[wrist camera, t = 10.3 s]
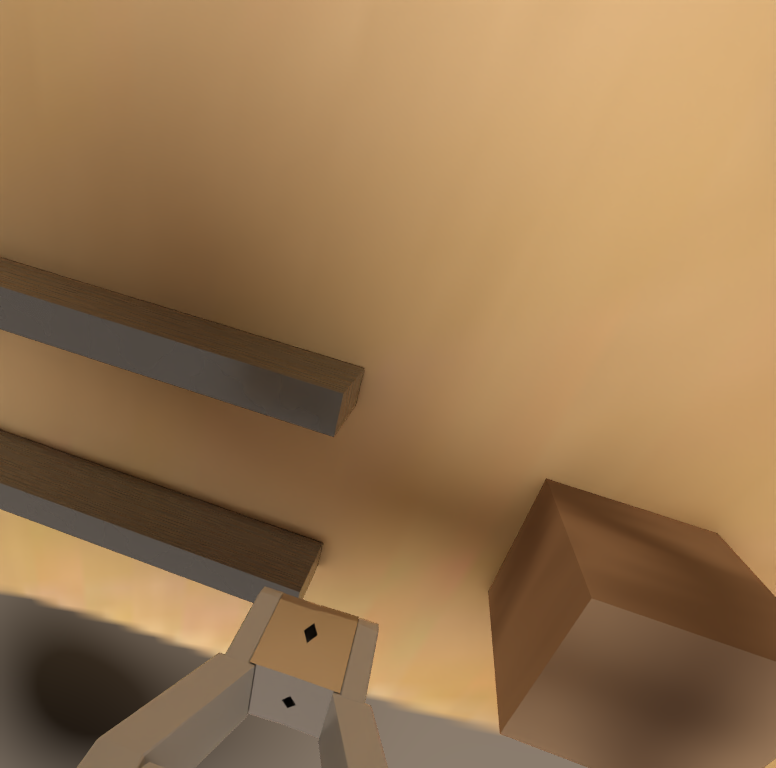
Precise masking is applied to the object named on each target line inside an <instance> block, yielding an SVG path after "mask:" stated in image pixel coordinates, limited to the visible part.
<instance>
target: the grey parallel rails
mask: <svg viewBox="0 0 776 768" xmlns="http://www.w3.org/2000/svg"><path fill="white" fill-rule="evenodd" d="M0 329H1V330H5V331H8V332H11V333H14V334H17V335H20V336H23V337H26V338H29V339H32V340H35V341H39V342H42V343H45V344H48V345H51V346H54V347H57V348H60V349H63V350H66V351H69V352H73V353H76V354H79V355H82V356H85V357H88V358H91V359H94V360H97V361H100V362H103V363H107V364H110V365H113V366H116V367H119V368H122V369H125V370H128V371H131V372H134V373H137V374H141V375H144V376H147V377H150V378H153V379H156V380H159V381H162V382H165V383H168V384H172V385H175V386H178V387H181V388H184V389H187V390H190V391H193V392H196V393H199V394H202V395H206V396H209V397H212V398H215V399H218V400H221V401H224V402H227V403H230V404H233V405H236V406H240V407H243V408H246V409H249V410H252V411H255V412H258V413H261V414H264V415H267V416H270V417H274V418H277V419H280V420H283V421H286V422H289V423H292V424H295V425H298V426H301V427H304V428H308V429H311V430H314V431H317V432H320V433H323V434H326V435H329V436H332V437H334V436H335V435H336V433H337V432H338V430H339V429H340V427H341V426H342V424H343V423H344V421H345V420H346V419H347V417H348V416H349V414H350V413H351V411H352V410H353V408H354V407H355V405H356V402H357V397H358V393H359V389H360V385H361V381H362V376H363V372H364V368H362V367H359V366H356V365H352V364H349V363H346V362H343V361H339V360H336V359H333V358H329V357H326V356H323V355H320V354H316V353H313V352H310V351H306V350H303V349H300V348H297V347H293V346H290V345H287V344H283V343H280V342H277V341H274V340H270V339H267V338H264V337H260V336H257V335H254V334H251V333H247V332H244V331H241V330H237V329H234V328H231V327H228V326H224V325H221V324H218V323H214V322H211V321H208V320H205V319H201V318H198V317H195V316H191V315H188V314H185V313H182V312H178V311H175V310H172V309H168V308H165V307H162V306H159V305H155V304H152V303H149V302H145V301H142V300H139V299H135V298H132V297H129V296H126V295H122V294H119V293H116V292H112V291H109V290H106V289H103V288H99V287H96V286H93V285H89V284H86V283H83V282H80V281H76V280H73V279H70V278H66V277H63V276H60V275H57V274H53V273H50V272H47V271H43V270H40V269H37V268H34V267H30V266H27V265H24V264H20V263H17V262H14V261H11V260H7V259H4V258H1V257H0ZM0 509H2V510H5V511H7V512H10V513H13V514H15V515H18V516H21V517H23V518H26V519H29V520H31V521H34V522H37V523H40V524H42V525H45V526H48V527H50V528H53V529H56V530H58V531H61V532H64V533H66V534H69V535H72V536H74V537H77V538H80V539H83V540H85V541H88V542H91V543H93V544H96V545H99V546H101V547H104V548H107V549H109V550H112V551H115V552H118V553H120V554H123V555H126V556H128V557H131V558H134V559H136V560H139V561H142V562H144V563H147V564H150V565H153V566H155V567H158V568H161V569H163V570H166V571H169V572H171V573H174V574H177V575H179V576H182V577H185V578H187V579H190V580H193V581H196V582H198V583H201V584H204V585H206V586H209V587H212V588H214V589H217V590H220V591H222V592H225V593H228V594H231V595H233V596H236V597H239V598H241V599H244V600H247V601H249V602H252V603H254V602H255V600H256V598H257V596H258V594H259V593H260V591H261V590H262V589H263V588H264V587H268V588H271V589H274V590H278V591H281V592H284V593H285V594H288V595H291V596H294V597H297V598H300V599H303V597H304V595H305V593H306V591H307V588H308V586H309V584H310V582H311V580H312V577H313V575H314V573H315V571H316V569H317V566H318V562H319V557H320V553H321V549H322V545H323V543H321V542H318V541H315V540H312V539H309V538H307V537H304V536H301V535H298V534H295V533H292V532H289V531H287V530H284V529H281V528H278V527H275V526H272V525H269V524H267V523H264V522H261V521H258V520H255V519H252V518H249V517H247V516H244V515H241V514H238V513H235V512H232V511H230V510H227V509H224V508H221V507H218V506H215V505H212V504H210V503H207V502H204V501H201V500H198V499H195V498H192V497H190V496H187V495H184V494H181V493H178V492H175V491H172V490H170V489H167V488H164V487H161V486H158V485H155V484H152V483H150V482H147V481H144V480H141V479H138V478H135V477H133V476H130V475H127V474H124V473H121V472H118V471H115V470H113V469H110V468H107V467H104V466H101V465H98V464H95V463H93V462H90V461H87V460H84V459H81V458H78V457H75V456H73V455H70V454H67V453H64V452H61V451H58V450H56V449H53V448H50V447H47V446H44V445H41V444H38V443H36V442H33V441H30V440H27V439H24V438H21V437H18V436H16V435H13V434H10V433H7V432H4V431H1V430H0Z"/></svg>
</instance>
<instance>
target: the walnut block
mask: <svg viewBox="0 0 776 768" xmlns="http://www.w3.org/2000/svg"><path fill="white" fill-rule="evenodd" d="M488 595H489V607H490V619H491V631H492V643H493V655H494V667H495V680H496V692H497V704H498V716H499V728H500V734H502V735H504V736H507V737H510V738H512V739H515V740H518V741H520V742H523V743H525V744H528V745H531V746H533V747H536V748H538V749H541V750H544V751H546V752H549V753H551V754H554V755H557V756H560V757H562V758H565V759H567V760H570V761H572V762H575V763H578V764H580V765H583V766H586V767H588V768H764V767H765V766H767V765H768V764H769V763H771V762H772V761H773V760H774V759H776V597H775V596H774V595H773V594H772V593H771V591H770V590H769V589H768V588H767V587H766V586H765V585H764V584H763V583H762V582H761V580H760V579H759V578H758V577H757V576H756V575H755V574H754V573H753V572H752V571H751V570H750V568H749V567H748V566H747V565H746V564H745V563H744V562H743V561H742V560H741V559H740V557H739V556H738V555H737V554H736V553H735V552H734V551H733V550H732V549H731V548H730V547H729V545H728V544H727V543H726V542H725V541H724V540H723V539H722V538H721V537H720V536H719V535H718V533H714V532H711V531H708V530H705V529H702V528H699V527H696V526H693V525H690V524H686V523H683V522H680V521H677V520H674V519H671V518H668V517H665V516H661V515H658V514H655V513H652V512H649V511H646V510H643V509H640V508H636V507H633V506H630V505H627V504H624V503H621V502H618V501H615V500H611V499H608V498H605V497H602V496H599V495H596V494H593V493H590V492H586V491H583V490H580V489H577V488H574V487H571V486H568V485H565V484H561V483H558V482H555V481H552V480H549V479H546V480H545V482H544V484H543V486H542V488H541V490H540V492H539V494H538V496H537V498H536V500H535V502H534V504H533V506H532V508H531V509H530V511H529V513H528V515H527V517H526V519H525V521H524V523H523V525H522V527H521V529H520V531H519V533H518V535H517V537H516V539H515V541H514V543H513V545H512V547H511V548H510V550H509V552H508V554H507V556H506V558H505V560H504V562H503V564H502V566H501V568H500V570H499V572H498V574H497V576H496V578H495V580H494V582H493V584H492V585H491V587H490V589H489V591H488Z"/></svg>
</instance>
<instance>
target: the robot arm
mask: <svg viewBox="0 0 776 768" xmlns="http://www.w3.org/2000/svg"><path fill="white" fill-rule="evenodd" d="M358 618H359V617H357V616H354V615H351V614H348V613H345V612H341V611H338V610H335V609H332V608H328V607H325V606H322V605H321V606H320V605H317V604H315V603H312V602H309V601H306V600H303V599H300V598H297V597H294V596H291V595H288V594H285V593H284V592H281V591H278V590H274V589H271V588H268V587H264V588H263V589H262V590H261V591H260V593H259V594H258V596H257V598H256V600H255V602H254V603H253V605H252V607H251V609H250V611H249V612H248V614H247V616H246V618H245V620H244V621H243V623H242V625H241V627H240V629H239V630H238V632H237V634H236V636H235V638H234V639H233V641H232V643H231V645H230V647H229V648H228V650H227V652H226V654H222V653H218V654H217V655H215V656H214V657H212V658H211V659H209V660H208V661H207V662H205V663H204V664H203V665H201V666H200V667H198V668H197V669H195V670H194V671H193V672H191V673H190V674H188V675H187V676H186V677H184V678H183V679H181V680H180V681H179V682H177V683H176V684H174V685H173V686H171V687H170V688H169V689H167V690H166V691H165V692H163V693H162V694H160V695H159V696H157V697H156V698H155V699H153V700H152V701H150V702H149V703H148V704H146V705H145V706H143V707H142V708H141V709H139V710H138V711H136V712H135V713H133V714H132V715H131V716H129V717H128V718H126V719H125V720H124V721H122V722H121V723H119V724H118V725H116V726H115V727H114V728H112V729H111V730H109V731H108V732H107V733H105V734H104V735H102V736H101V737H100V738H98V739H97V740H96V742H95V743H94V745H93V746H92V747H91V749H90V750H89V751H88V753H87V754H86V756H85V757H84V759H83V760H82V761H81V763H80V764H79V765H78V767H77V768H195V767H196V766H197V765H198V764H199V763H200V762H201V761H202V760H203V759H204V758H205V757H206V756H207V755H208V754H209V753H210V752H211V751H212V750H213V749H215V748H216V746H218V745H219V744H220V743H221V742H222V740H224V739H225V738H226V737H227V736H228V735H229V733H231V732H232V731H233V730H234V729H235V728H236V727H237V726H238V725H239V724H240V723H241V722H242V721H243V720H244V719H245V718H246V717H247V714H251V715H254V716H257V717H260V718H263V719H266V720H269V721H273V722H276V723H279V724H282V725H285V726H287V727H290V728H293V729H295V730H298V731H300V732H303V733H305V734H308V735H310V736H313V737H315V738H318V739H319V741H318V744H319V752H320V759H321V768H388V766H387V762H386V758H385V754H384V751H383V747H382V744H381V740H380V736H379V733H378V729H377V725H376V722H375V718H374V715H373V711H372V707H371V705H368V704H366V703H365V700H366V695H367V689H368V684H369V679H370V673H371V668H372V663H373V657H374V652H375V647H376V641H377V636H378V631H379V625H378V624H377V623H374V622H371V621H368V620H365V619H361V618H359V619H358Z"/></svg>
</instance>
